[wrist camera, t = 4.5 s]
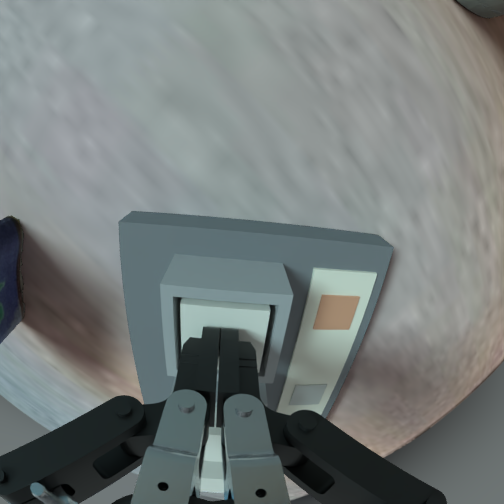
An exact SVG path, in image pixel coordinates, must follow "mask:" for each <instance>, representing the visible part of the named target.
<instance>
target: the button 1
mask: <svg viewBox="0 0 504 504" xmlns="http://www.w3.org/2000/svg"><path fill="white" fill-rule="evenodd" d="M200 491H202V492H215V493H224V480H223V469H222V462H215V461H204V465H203V472H202V478H201V489H200Z"/></svg>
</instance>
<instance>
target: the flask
mask: <svg viewBox="0 0 504 504" xmlns="http://www.w3.org/2000/svg"><path fill="white" fill-rule="evenodd" d="M23 237H24V234H23V230H22V228H21V225H20V222H19V219H18V220H17V219H16V218H15V217H13V216H7V217H6V218H4V219H2V220H0V344H1V343H2V341H3V340H4V339H5V338H6V337H7V336H8V335H9V334H10V332H11V331H12V330H13V329H14V328H15V327H16V325H18V324H19V323H20V322H21V321H22V319H23V317H24V312H25V311H24V309H25V304H24V303H22V302H23V300H22V299H23V297H22V296H23V295H22V293H23V292H22V290H23V285H24V284H23V277H22V274H21V271H20V266H21V265H23V264H22V261H21V253H22V251H23V250H22V245H23Z"/></svg>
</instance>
